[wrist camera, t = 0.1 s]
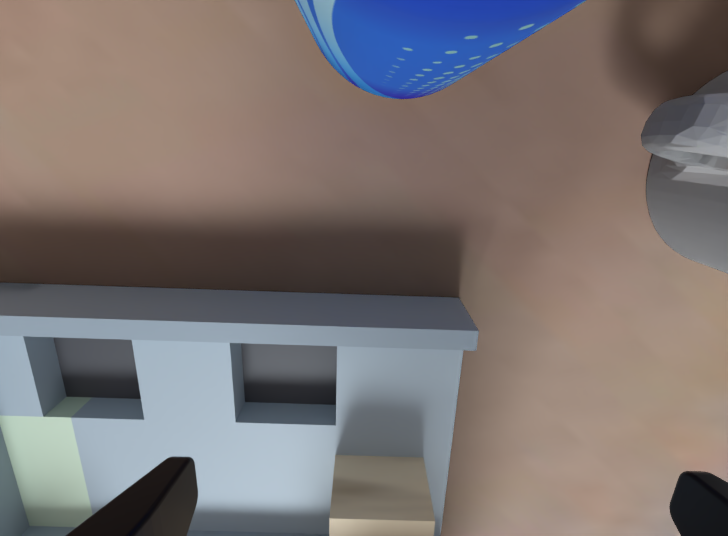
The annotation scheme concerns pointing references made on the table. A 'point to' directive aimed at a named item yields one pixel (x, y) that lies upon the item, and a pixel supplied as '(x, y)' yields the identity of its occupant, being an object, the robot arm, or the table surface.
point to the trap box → (218, 398)
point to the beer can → (421, 38)
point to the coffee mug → (691, 173)
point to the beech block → (380, 497)
